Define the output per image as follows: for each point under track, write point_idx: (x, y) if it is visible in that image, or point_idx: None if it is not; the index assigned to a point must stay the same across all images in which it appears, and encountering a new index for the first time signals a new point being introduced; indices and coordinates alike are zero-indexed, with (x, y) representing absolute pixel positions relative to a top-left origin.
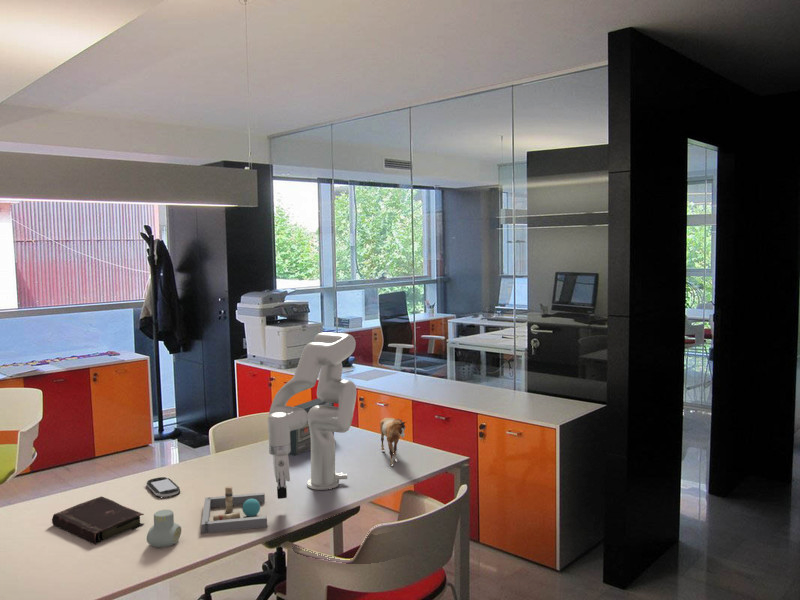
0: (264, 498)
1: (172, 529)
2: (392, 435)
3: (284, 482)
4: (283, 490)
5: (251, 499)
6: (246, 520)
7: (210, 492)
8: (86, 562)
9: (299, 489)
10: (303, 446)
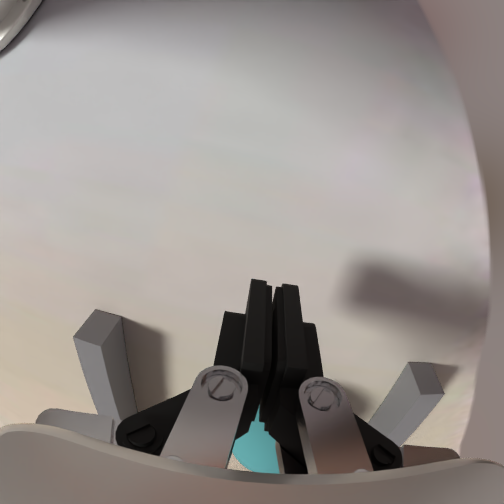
0: (111, 331)
1: None
2: None
3: (362, 464)
4: (318, 375)
5: (276, 472)
6: (398, 446)
7: (41, 410)
8: None
9: (3, 100)
10: None
